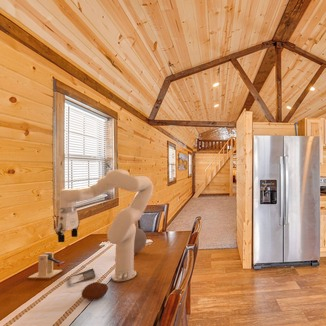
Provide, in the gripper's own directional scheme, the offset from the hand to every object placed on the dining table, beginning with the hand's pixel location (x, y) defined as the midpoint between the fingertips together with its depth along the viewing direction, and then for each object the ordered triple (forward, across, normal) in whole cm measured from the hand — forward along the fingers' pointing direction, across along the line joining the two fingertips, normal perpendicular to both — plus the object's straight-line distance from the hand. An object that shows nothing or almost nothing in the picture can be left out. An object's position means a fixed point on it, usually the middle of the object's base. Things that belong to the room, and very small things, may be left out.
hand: (68, 239), depth 134 cm
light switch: (+22, -4, -11) cm, 25 cm away
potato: (+22, -22, -30) cm, 44 cm away
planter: (+22, +35, -20) cm, 46 cm away
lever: (+13, 0, +9) cm, 16 cm away
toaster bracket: (+21, 0, +13) cm, 25 cm away
